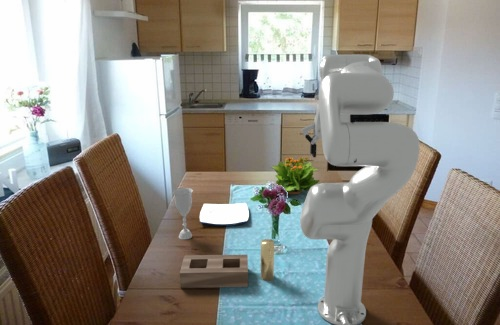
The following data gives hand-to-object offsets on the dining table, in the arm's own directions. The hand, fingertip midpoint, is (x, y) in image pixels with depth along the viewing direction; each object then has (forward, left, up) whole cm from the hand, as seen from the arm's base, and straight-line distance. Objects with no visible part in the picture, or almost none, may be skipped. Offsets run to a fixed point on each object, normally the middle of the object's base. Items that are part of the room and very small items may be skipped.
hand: (329, 156), depth 119 cm
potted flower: (+68, +2, -37) cm, 78 cm away
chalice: (+21, +48, -37) cm, 64 cm away
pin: (-7, +19, -37) cm, 42 cm away
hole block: (-7, +35, -37) cm, 51 cm away
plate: (+38, +34, -37) cm, 63 cm away
